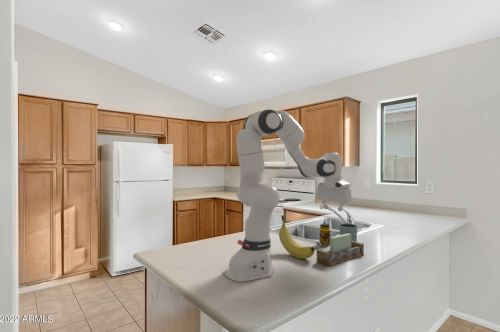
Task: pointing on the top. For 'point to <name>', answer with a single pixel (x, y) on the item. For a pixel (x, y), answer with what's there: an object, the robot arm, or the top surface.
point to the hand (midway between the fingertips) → (332, 209)
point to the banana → (293, 244)
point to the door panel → (340, 243)
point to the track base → (340, 254)
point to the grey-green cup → (349, 230)
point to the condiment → (324, 235)
